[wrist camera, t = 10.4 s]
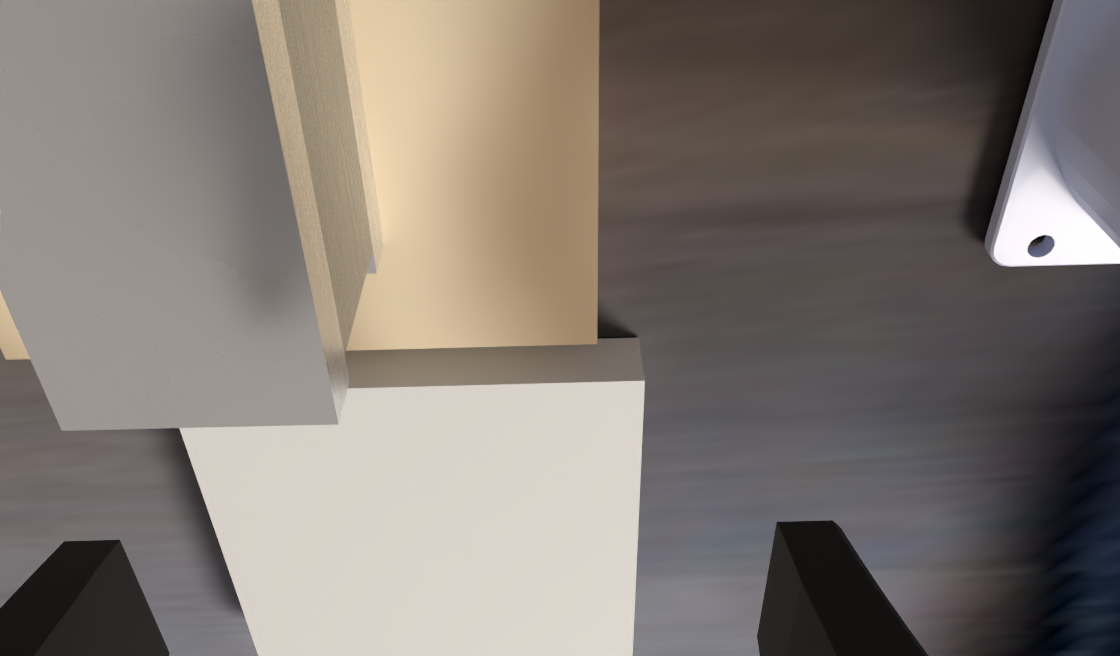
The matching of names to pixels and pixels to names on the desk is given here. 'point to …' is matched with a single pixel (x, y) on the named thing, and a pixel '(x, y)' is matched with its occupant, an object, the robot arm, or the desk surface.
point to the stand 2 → (441, 507)
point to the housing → (185, 207)
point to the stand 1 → (475, 174)
